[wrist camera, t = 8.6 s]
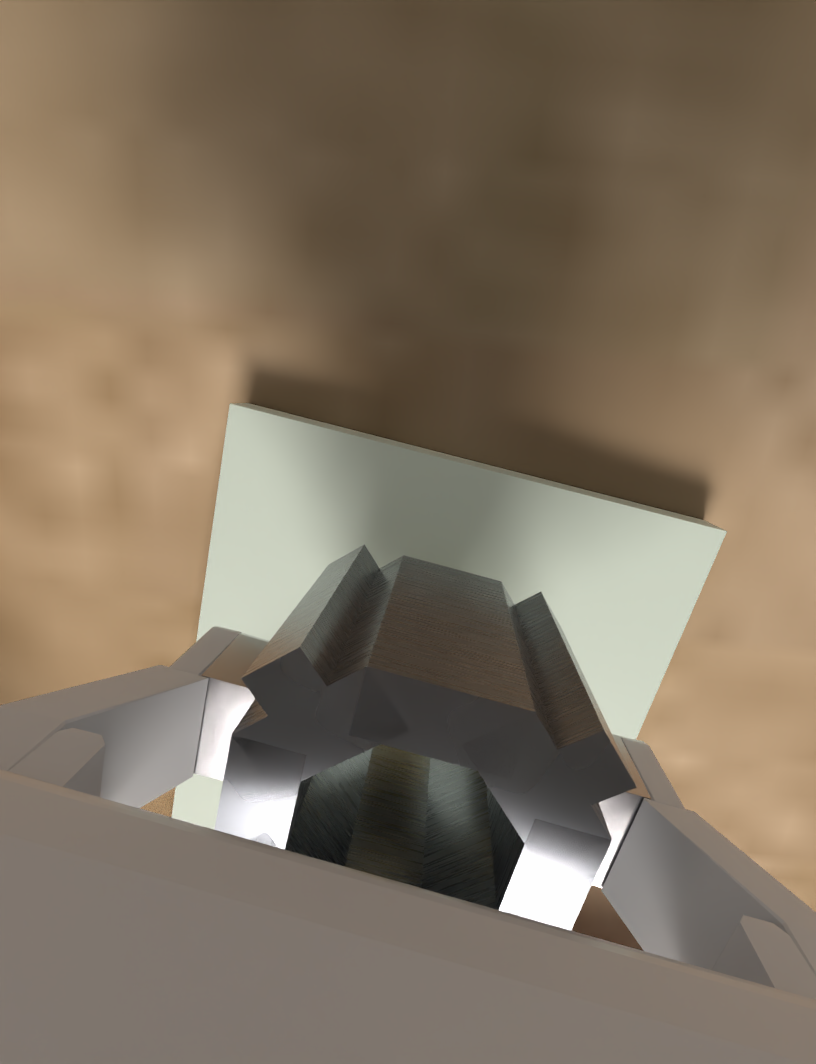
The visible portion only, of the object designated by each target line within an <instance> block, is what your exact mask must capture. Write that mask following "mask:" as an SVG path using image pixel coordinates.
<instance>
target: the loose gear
mask: <svg viewBox="0 0 816 1064" xmlns="http://www.w3.org/2000/svg"><path fill="white" fill-rule="evenodd" d="M241 679H242V681H243V682H244V684H245V685H246V686H247V688H248V689H249V690H250V692H251V693H252V695H253V696H254V697H255V700H254V701H253V703H252V704H251V706H250V707H249V709H248V710H247V712H246V713H245V715H244V716H243V718H242V719H241V721H240V722H239V724H238V725H237V727H236V728H235V730H234V731H233V733H232V734H231V740H230V745H229V751H228V757H227V762H226V768H225V773H224V779H223V784H222V790H221V795H220V801H219V806H218V812H217V817H216V823H215V828H214V830H217V831H221V832H224V833H228V834H231V835H235V836H239V837H242V838H246V839H249V840H253V841H256V842H260V843H263V844H267V845H270V846H274V847H277V848H281V849H284V850H288V851H292V852H295V853H299V854H302V855H306V856H309V857H313V858H316V859H320V860H323V861H327V862H330V863H334V864H337V865H341V866H345V867H348V868H352V869H355V870H359V871H362V872H366V873H369V874H373V875H376V876H380V877H383V878H387V879H390V880H394V881H398V882H401V883H405V884H408V885H412V886H415V887H419V888H422V889H426V890H429V891H433V892H436V893H440V894H443V895H447V896H451V897H454V898H458V899H461V900H465V901H468V902H472V903H475V904H479V905H482V906H486V907H489V908H493V909H496V910H500V911H504V912H507V913H511V914H514V915H518V916H521V917H525V918H528V919H532V920H535V921H539V922H543V923H546V924H550V925H553V926H557V927H560V928H564V929H567V930H572V927H573V925H574V923H575V921H576V919H577V916H578V914H579V912H580V910H581V908H582V905H583V903H584V901H585V899H586V897H587V894H588V892H589V890H590V888H591V885H592V883H593V881H594V879H595V877H596V874H597V872H598V870H599V868H600V866H601V863H602V861H603V859H604V857H605V855H606V852H607V850H608V848H609V846H610V844H611V841H612V838H611V836H610V833H609V830H608V827H607V824H606V822H605V819H604V816H603V813H602V810H601V808H600V805H599V802H601V801H604V800H606V799H609V798H611V797H614V796H616V795H619V794H622V793H624V792H627V791H629V790H632V789H634V788H637V786H636V784H635V782H634V780H633V778H632V776H631V774H630V772H629V769H628V767H627V765H626V763H625V761H624V759H623V757H622V755H621V752H620V750H619V748H618V746H617V744H616V742H615V740H614V738H613V736H612V733H611V731H610V729H609V727H608V725H607V723H606V721H605V719H604V717H603V714H602V712H601V710H600V708H599V706H598V704H597V702H596V700H595V698H594V695H593V693H592V691H591V689H590V687H589V685H588V683H587V681H586V678H585V676H584V674H583V672H582V670H581V668H580V666H579V664H578V662H577V659H576V657H575V655H574V653H573V651H572V649H571V647H570V645H569V643H568V640H567V638H566V636H565V634H564V632H563V630H562V628H561V626H560V624H559V622H558V621H557V619H556V617H555V615H554V614H553V612H552V610H551V608H550V606H549V605H548V603H547V601H546V599H545V598H544V596H543V594H542V592H539V593H537V594H535V595H533V596H531V597H529V598H527V599H525V600H523V601H521V602H519V603H517V604H514V603H513V601H512V599H511V597H510V596H509V594H508V592H507V591H506V589H505V587H504V585H503V584H502V582H501V581H498V580H494V579H491V578H487V577H483V576H480V575H476V574H472V573H468V572H465V571H461V570H457V569H453V568H450V567H446V566H442V565H438V564H435V563H431V562H427V561H423V560H420V559H416V558H412V557H408V556H405V555H403V556H401V557H399V558H398V559H396V560H394V561H392V562H390V563H388V564H387V565H385V566H383V567H381V568H379V567H378V565H377V563H376V562H375V560H374V559H373V557H372V555H371V554H370V552H369V551H368V549H367V548H366V546H365V544H364V545H362V546H360V547H359V548H357V549H355V550H353V551H352V552H350V553H348V554H346V555H344V556H343V557H341V558H339V559H337V560H336V561H334V562H332V563H330V564H329V565H328V566H327V567H326V568H325V570H324V571H323V572H322V574H321V575H320V576H319V578H318V579H317V580H316V581H315V583H314V584H313V585H312V587H311V588H310V589H309V591H308V592H307V593H306V594H305V596H304V597H303V598H302V600H301V601H300V602H299V603H298V605H297V606H296V607H295V609H294V610H293V611H292V613H291V614H290V615H289V616H288V618H287V619H286V620H285V622H284V623H283V624H282V626H281V627H280V628H279V629H278V631H277V632H276V633H275V635H274V636H273V637H272V639H271V640H270V641H269V642H268V644H267V645H266V646H265V648H264V649H263V650H262V651H261V653H260V654H259V655H258V657H257V658H256V659H255V661H254V662H253V663H252V664H251V666H250V667H249V668H248V670H247V671H246V672H245V674H244V675H243V676H242V677H241Z"/></svg>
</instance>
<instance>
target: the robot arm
mask: <svg viewBox="0 0 816 1064" xmlns="http://www.w3.org/2000/svg"><path fill="white" fill-rule="evenodd" d="M268 642H269V640H265V639H262V638H259V637H255V636H252V635H248V634H245V633H241V632H239V631H235V630H231V629H227V628H223V627H219V626H214V627H212V628H211V629H210V630H209V631H208V632H206V633H205V634H204V635H203V636H202V637H201V638H200V639H199V640H198V641H197V642H196V643H194V644H193V645H192V646H191V647H190V648H189V649H188V650H187V651H186V652H185V653H184V654H183V655H181V656H180V657H179V658H178V659H177V660H176V661H175V662H174V663H173V664H172V665H171V666H170V667H167V666H163V665H158V666H154V667H150V668H146V669H142V670H138V671H135V672H131V673H127V674H123V675H119V676H115V677H111V678H107V679H103V680H99V681H95V682H91V683H87V684H83V685H79V686H75V687H71V688H67V689H63V690H59V691H55V692H51V693H47V694H43V695H39V696H35V697H31V698H27V699H23V700H19V701H15V702H11V703H7V704H3V705H1V706H0V1064H816V912H815V911H813V910H812V909H811V908H810V907H809V906H807V905H806V904H805V903H804V902H803V901H801V900H800V899H799V898H798V897H797V896H795V895H794V894H793V893H792V892H791V891H789V890H788V889H787V888H786V887H785V886H783V885H782V884H781V883H780V882H778V881H777V880H776V879H775V878H774V877H772V876H771V875H770V874H769V873H768V872H766V871H765V870H764V869H763V868H762V867H760V866H759V865H758V864H757V863H756V862H754V861H753V860H752V859H751V858H750V857H748V856H747V855H746V854H745V853H744V852H742V851H741V850H740V849H739V848H737V847H736V846H735V845H734V844H733V843H731V842H730V841H729V840H728V839H727V838H725V837H724V836H723V835H722V834H721V833H719V832H718V831H717V830H716V829H715V828H713V827H712V826H711V825H710V824H709V823H707V822H706V821H705V820H704V819H702V818H701V817H700V816H699V815H698V814H696V813H695V812H693V811H690V810H686V809H685V808H684V806H683V805H682V803H681V801H680V799H679V798H678V796H677V794H676V792H675V790H674V789H673V787H672V785H671V783H670V782H669V780H668V778H667V776H666V775H665V773H664V771H663V769H662V768H661V766H660V764H659V762H658V761H657V759H656V757H655V755H654V754H653V752H652V750H651V748H650V746H649V745H647V744H646V743H645V742H643V741H640V740H635V739H631V738H627V737H622V736H618V735H614V734H612V736H613V738H614V740H615V742H616V744H617V746H618V748H619V750H620V752H621V755H622V757H623V759H624V761H625V763H626V765H627V767H628V769H629V772H630V774H631V776H632V778H633V780H634V782H635V784H636V786H637V788H634V789H632V790H629V791H627V792H624V793H622V794H619V795H616V796H614V797H611V798H609V799H606V800H604V801H601V802H599V805H600V808H601V810H602V813H603V816H604V819H605V822H606V824H607V827H608V830H609V833H610V836H611V838H612V841H611V844H610V846H609V848H608V850H607V852H606V855H605V857H604V859H603V861H602V863H601V866H600V868H599V870H598V872H597V874H596V877H595V879H594V881H593V883H592V885H594V886H597V887H600V888H602V890H601V891H602V892H603V894H604V895H605V896H606V898H607V899H608V901H609V902H610V904H611V905H612V906H613V908H614V909H615V911H616V912H617V913H618V915H619V916H620V918H621V919H622V921H623V922H624V923H625V925H626V926H627V928H628V929H629V930H630V932H631V933H632V935H633V936H634V938H635V939H636V940H637V942H638V943H639V945H640V946H641V948H642V949H643V950H644V951H642V950H638V949H635V948H631V947H627V946H624V945H620V944H617V943H613V942H610V941H606V940H603V939H599V938H596V937H592V936H589V935H585V934H581V933H578V932H574V931H571V930H567V929H564V928H560V927H557V926H553V925H550V924H546V923H543V922H539V921H535V920H532V919H528V918H525V917H521V916H518V915H514V914H511V913H507V912H504V911H500V910H496V909H493V908H489V907H486V906H482V905H479V904H475V903H472V902H468V901H465V900H461V899H458V898H454V897H451V896H447V895H443V894H440V893H436V892H433V891H429V890H426V889H422V888H419V887H415V886H412V885H408V884H405V883H401V882H398V881H394V880H390V879H387V878H383V877H380V876H376V875H373V874H369V873H366V872H362V871H359V870H355V869H352V868H348V867H345V866H341V865H337V864H334V863H330V862H327V861H323V860H320V859H316V858H313V857H309V856H306V855H302V854H299V853H295V852H292V851H288V850H284V849H281V848H277V847H274V846H270V845H267V844H263V843H260V842H256V841H253V840H249V839H246V838H242V837H239V836H235V835H231V834H228V833H224V832H221V831H217V830H214V829H210V828H207V827H203V826H200V825H196V824H193V823H189V822H186V821H182V820H178V819H175V818H171V817H168V816H164V815H161V814H157V813H154V812H150V811H147V810H143V809H140V807H142V806H144V805H146V804H147V803H149V802H151V801H152V800H154V799H156V798H157V797H159V796H161V795H162V794H164V793H166V792H168V791H169V790H171V789H173V788H174V787H176V786H178V785H179V784H181V783H183V782H184V781H186V780H188V779H190V778H191V777H193V774H197V775H201V776H205V777H210V778H214V779H218V780H222V781H223V779H224V773H225V768H226V762H227V757H228V751H229V745H230V740H231V734H232V733H233V731H234V730H235V728H236V727H237V725H238V724H239V722H240V721H241V719H242V718H243V716H244V715H245V713H246V712H247V710H248V709H249V707H250V706H251V704H252V703H253V701H254V700H255V697H254V696H253V695H252V693H251V692H250V690H249V689H248V688H247V686H246V685H245V684H244V682H243V681H242V679H241V677H242V676H243V675H244V674H245V672H246V671H247V670H248V668H249V667H250V666H251V664H252V663H253V662H254V661H255V659H256V658H257V657H258V655H259V654H260V653H261V651H262V650H263V649H264V648H265V646H266V645H267V644H268Z"/></svg>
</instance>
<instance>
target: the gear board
mask: <svg viewBox="0 0 816 1064" xmlns="http://www.w3.org/2000/svg"><path fill="white" fill-rule="evenodd" d="M726 532H727V531H725V530H723V529H721V528H719V527H717V526H715V525H713V524H711V523H709V522H707V521H705V520H702V519H698V518H694V517H690V516H686V515H682V514H678V513H674V512H670V511H667V510H663V509H659V508H655V507H651V506H647V505H643V504H639V503H635V502H631V501H628V500H624V499H620V498H616V497H612V496H608V495H604V494H600V493H596V492H593V491H589V490H585V489H581V488H577V487H573V486H569V485H565V484H561V483H558V482H554V481H550V480H546V479H542V478H538V477H534V476H530V475H526V474H522V473H519V472H515V471H511V470H507V469H503V468H499V467H495V466H491V465H487V464H484V463H480V462H476V461H472V460H468V459H464V458H460V457H456V456H452V455H449V454H445V453H441V452H437V451H433V450H429V449H425V448H421V447H417V446H413V445H410V444H406V443H402V442H398V441H394V440H390V439H386V438H382V437H378V436H375V435H371V434H367V433H363V432H359V431H355V430H351V429H347V428H343V427H340V426H336V425H332V424H328V423H324V422H320V421H316V420H312V419H308V418H304V417H301V416H297V415H293V414H289V413H285V412H281V411H277V410H273V409H269V408H266V407H262V406H258V405H254V404H250V403H230V406H229V413H228V420H227V427H226V434H225V442H224V449H223V456H222V463H221V470H220V477H219V484H218V491H217V498H216V505H215V513H214V520H213V527H212V534H211V541H210V548H209V555H208V562H207V569H206V576H205V584H204V591H203V598H202V605H201V612H200V619H199V626H198V633H197V640H196V642H197V641H198V640H199V639H200V638H201V637H202V636H203V635H204V634H205V633H206V632H208V631H209V630H210V629H211V628H212V627H214V626H219V627H223V628H227V629H231V630H235V631H239V632H241V633H245V634H248V635H252V636H255V637H259V638H262V639H265V640H269V641H270V640H271V639H272V637H273V636H274V635H275V633H276V632H277V631H278V629H279V628H280V627H281V626H282V624H283V623H284V622H285V620H286V619H287V618H288V616H289V615H290V614H291V613H292V611H293V610H294V609H295V607H296V606H297V605H298V603H299V602H300V601H301V600H302V598H303V597H304V596H305V594H306V593H307V592H308V591H309V589H310V588H311V587H312V585H313V584H314V583H315V581H316V580H317V579H318V578H319V576H320V575H321V574H322V572H323V571H324V570H325V568H326V567H327V566H328V565H329V564H330V563H332V562H334V561H336V560H337V559H339V558H341V557H343V556H344V555H346V554H348V553H350V552H352V551H353V550H355V549H357V548H359V547H360V546H362V545H364V544H365V546H366V548H367V549H368V551H369V552H370V554H371V555H372V557H373V559H374V560H375V562H376V563H377V565H378V567H379V568H381V567H383V566H385V565H387V564H388V563H390V562H392V561H394V560H396V559H398V558H399V557H401V556H403V555H405V556H408V557H412V558H416V559H420V560H423V561H427V562H431V563H435V564H438V565H442V566H446V567H450V568H453V569H457V570H461V571H465V572H468V573H472V574H476V575H480V576H483V577H487V578H491V579H494V580H498V581H501V582H502V584H503V585H504V587H505V589H506V591H507V592H508V594H509V596H510V597H511V599H512V601H513V603H514V604H517V603H519V602H521V601H523V600H525V599H527V598H529V597H531V596H533V595H535V594H537V593H539V592H542V594H543V596H544V598H545V599H546V601H547V603H548V605H549V606H550V608H551V610H552V612H553V614H554V615H555V617H556V619H557V621H558V622H559V624H560V626H561V628H562V630H563V632H564V634H565V636H566V638H567V640H568V643H569V645H570V647H571V649H572V651H573V653H574V655H575V657H576V659H577V662H578V664H579V666H580V668H581V670H582V672H583V674H584V676H585V678H586V681H587V683H588V685H589V687H590V689H591V691H592V693H593V695H594V698H595V700H596V702H597V704H598V706H599V708H600V710H601V712H602V714H603V717H604V719H605V721H606V723H607V725H608V727H609V729H610V731H611V733H612V734H614V735H618V736H622V737H627V738H631V739H635V740H636V738H637V736H638V734H639V731H640V729H641V727H642V724H643V722H644V720H645V718H646V715H647V713H648V711H649V708H650V706H651V704H652V702H653V699H654V697H655V695H656V692H657V690H658V688H659V686H660V683H661V681H662V679H663V676H664V674H665V672H666V670H667V667H668V665H669V663H670V660H671V658H672V656H673V654H674V651H675V649H676V647H677V644H678V642H679V640H680V638H681V635H682V633H683V631H684V628H685V626H686V624H687V622H688V619H689V617H690V615H691V612H692V610H693V608H694V606H695V603H696V601H697V599H698V596H699V594H700V592H701V590H702V587H703V585H704V583H705V580H706V578H707V576H708V574H709V571H710V569H711V567H712V564H713V562H714V560H715V558H716V555H717V553H718V551H719V548H720V546H721V544H722V541H723V539H724V537H725V535H726ZM222 784H223V781H222V780H218V779H214V778H210V777H205V776H201V775H197V774H193V777H191V778H190V779H188V780H186V781H184V782H183V783H181V784H179V785H178V786H176V789H175V797H174V804H173V811H172V818H175V819H178V820H182V821H186V822H189V823H193V824H196V825H200V826H203V827H207V828H210V829H214V828H215V823H216V817H217V812H218V806H219V801H220V795H221V790H222Z"/></svg>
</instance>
